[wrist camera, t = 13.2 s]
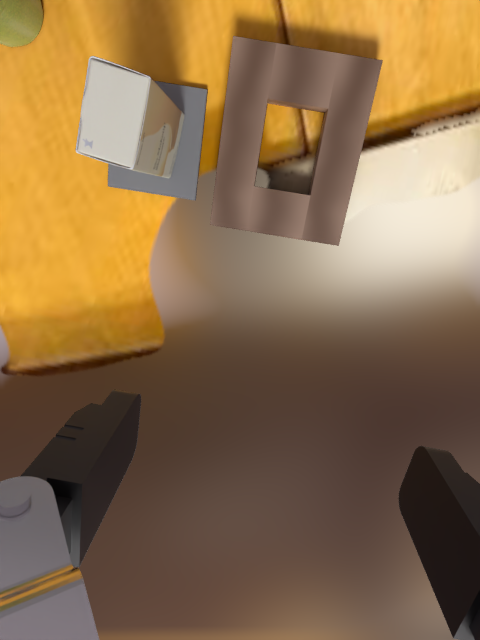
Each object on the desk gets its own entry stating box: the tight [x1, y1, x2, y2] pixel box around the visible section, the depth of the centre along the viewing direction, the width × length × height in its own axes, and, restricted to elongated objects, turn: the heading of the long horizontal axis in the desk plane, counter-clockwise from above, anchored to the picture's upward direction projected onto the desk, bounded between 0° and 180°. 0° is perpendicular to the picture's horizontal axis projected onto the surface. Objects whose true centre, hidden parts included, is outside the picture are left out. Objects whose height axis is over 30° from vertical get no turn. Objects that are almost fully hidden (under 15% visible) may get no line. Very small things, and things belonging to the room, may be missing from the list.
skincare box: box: [76, 56, 185, 178], centre depth 31 cm, size 6×4×12 cm
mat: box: [108, 81, 208, 200], centre depth 37 cm, size 9×10×1 cm
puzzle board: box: [210, 36, 383, 246], centre depth 36 cm, size 13×16×2 cm
